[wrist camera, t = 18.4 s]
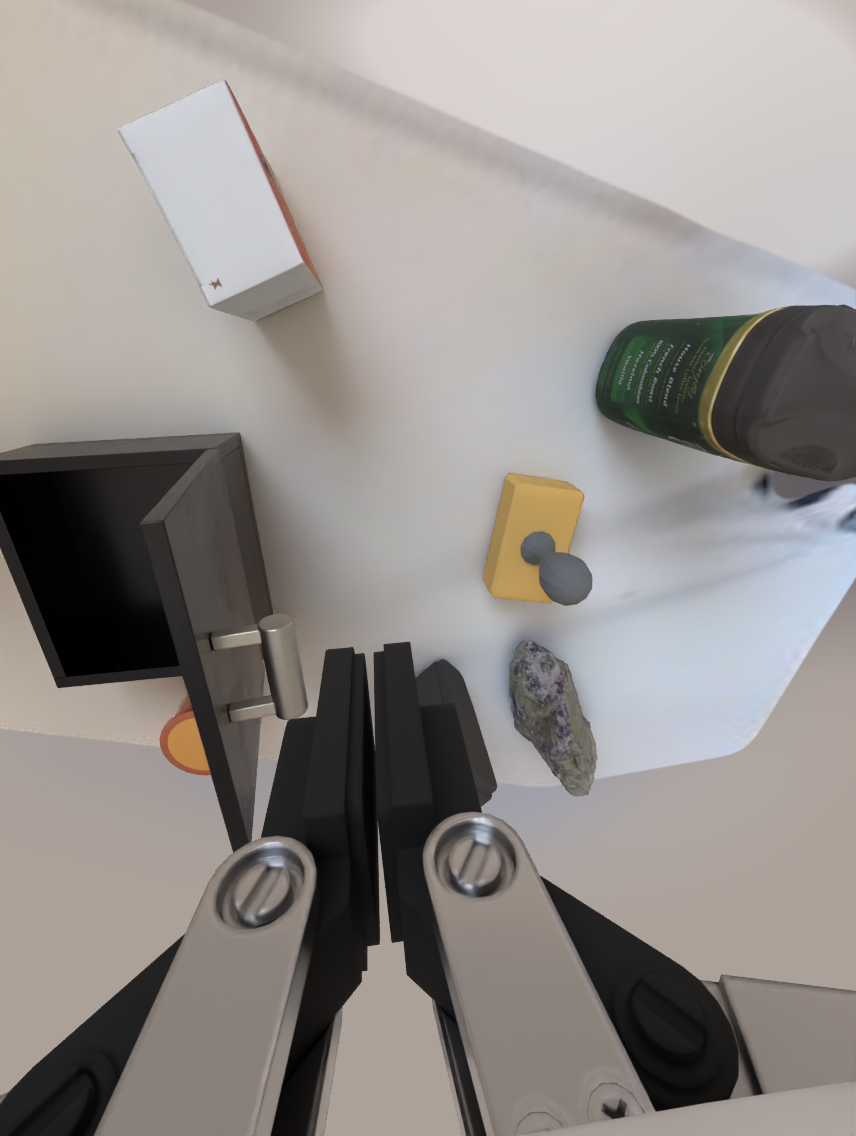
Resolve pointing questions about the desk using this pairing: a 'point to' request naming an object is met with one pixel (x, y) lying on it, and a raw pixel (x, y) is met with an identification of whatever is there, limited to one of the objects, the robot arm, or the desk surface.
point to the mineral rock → (552, 716)
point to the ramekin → (184, 741)
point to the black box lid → (221, 635)
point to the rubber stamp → (536, 543)
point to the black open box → (108, 549)
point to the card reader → (450, 687)
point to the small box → (222, 203)
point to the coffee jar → (743, 387)
